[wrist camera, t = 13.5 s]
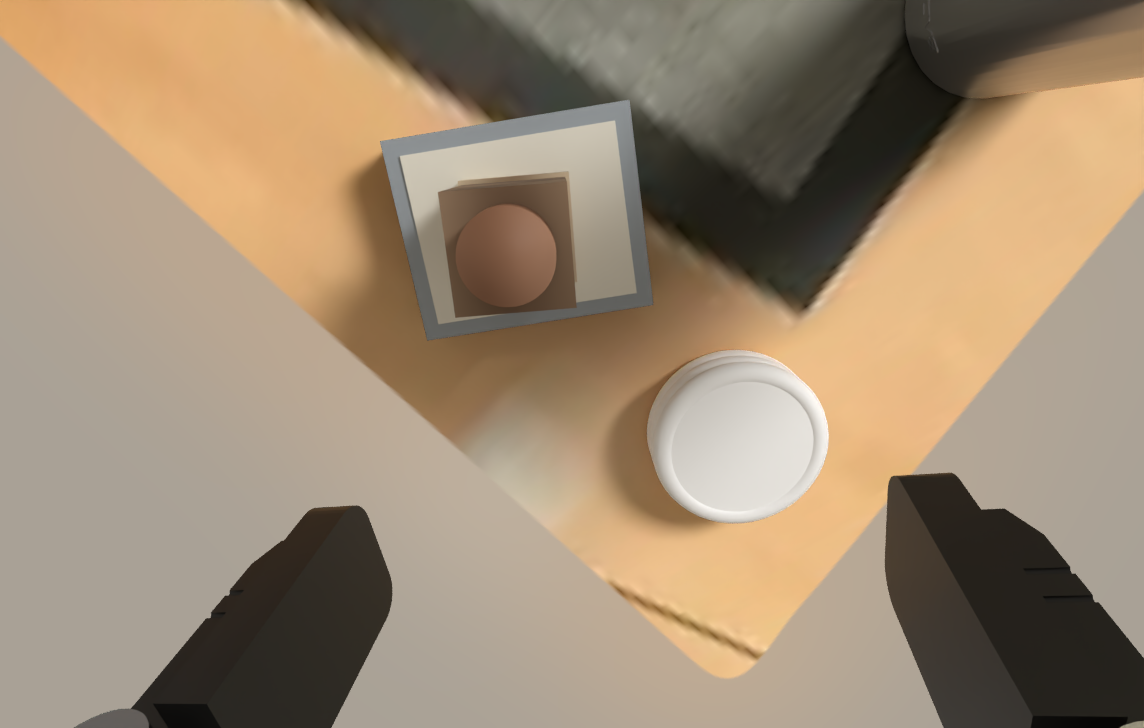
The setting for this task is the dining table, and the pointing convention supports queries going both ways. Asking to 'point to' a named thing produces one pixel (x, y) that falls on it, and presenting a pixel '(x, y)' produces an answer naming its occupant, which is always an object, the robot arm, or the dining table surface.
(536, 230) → the dome-topped square block
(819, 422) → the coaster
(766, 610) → the dining table surface
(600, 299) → the dock
